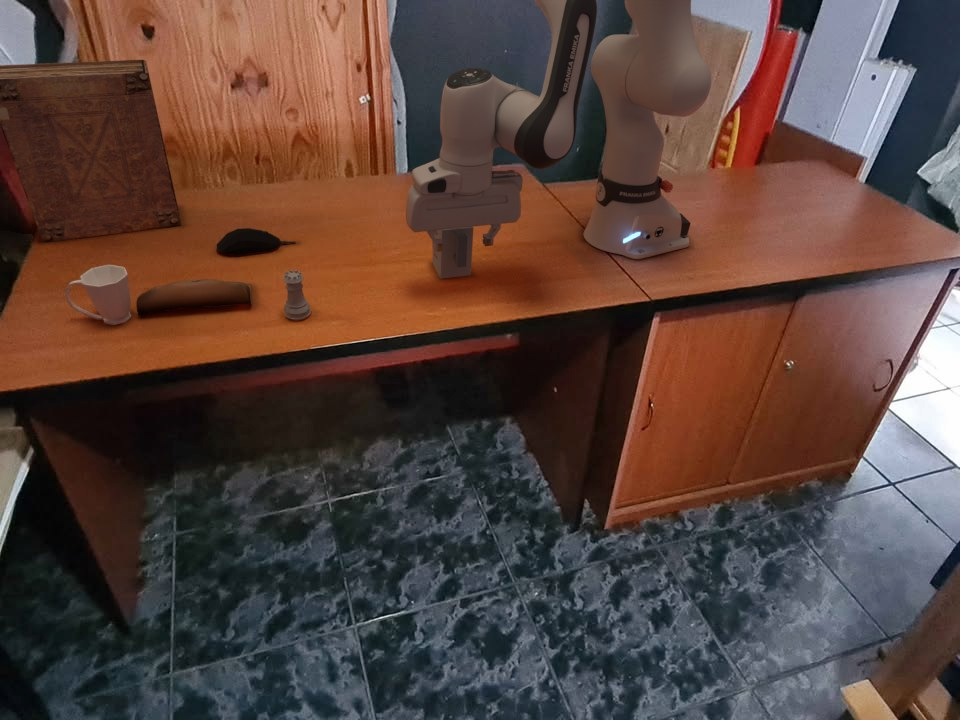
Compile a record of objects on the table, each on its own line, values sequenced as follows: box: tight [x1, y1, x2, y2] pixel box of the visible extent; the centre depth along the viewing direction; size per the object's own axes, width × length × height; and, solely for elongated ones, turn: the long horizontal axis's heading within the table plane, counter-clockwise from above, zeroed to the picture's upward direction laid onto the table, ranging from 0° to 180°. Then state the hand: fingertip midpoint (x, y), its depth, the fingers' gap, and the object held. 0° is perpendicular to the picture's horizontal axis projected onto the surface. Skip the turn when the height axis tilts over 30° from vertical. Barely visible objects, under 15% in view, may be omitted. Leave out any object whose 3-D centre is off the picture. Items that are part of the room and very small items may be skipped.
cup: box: [65, 264, 132, 326], centre depth 111 cm, size 7×10×8 cm
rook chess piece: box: [282, 269, 312, 321], centre depth 115 cm, size 4×4×8 cm
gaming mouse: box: [216, 227, 297, 257], centre depth 134 cm, size 6×15×4 cm, turn 109°
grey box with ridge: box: [431, 227, 474, 280], centre depth 128 cm, size 10×6×9 cm
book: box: [0, 59, 182, 243], centre depth 131 cm, size 25×9×30 cm, turn 113°
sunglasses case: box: [136, 278, 253, 316], centre depth 117 cm, size 18×7×7 cm
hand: (462, 247), depth 124 cm, fingers open, 8 cm apart
